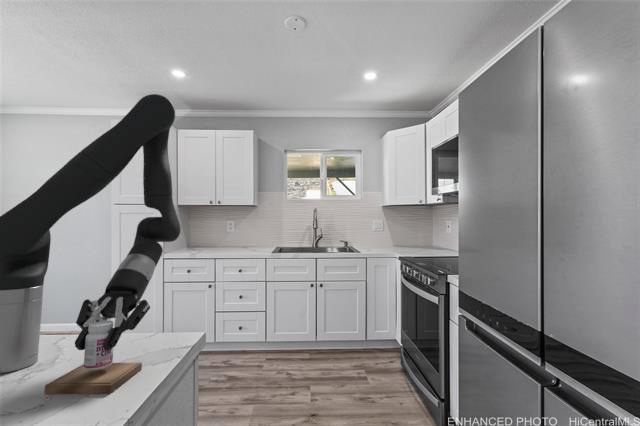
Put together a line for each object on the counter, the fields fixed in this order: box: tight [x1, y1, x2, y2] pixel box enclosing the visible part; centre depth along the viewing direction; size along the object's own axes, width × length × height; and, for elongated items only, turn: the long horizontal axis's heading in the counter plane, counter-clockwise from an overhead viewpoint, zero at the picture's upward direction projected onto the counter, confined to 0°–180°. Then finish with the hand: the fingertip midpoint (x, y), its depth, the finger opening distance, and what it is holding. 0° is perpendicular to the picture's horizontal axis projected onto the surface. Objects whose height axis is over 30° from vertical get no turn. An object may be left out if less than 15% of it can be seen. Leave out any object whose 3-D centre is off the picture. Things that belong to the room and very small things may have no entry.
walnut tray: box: [43, 362, 143, 395], centre depth 61 cm, size 12×10×2 cm
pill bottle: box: [83, 320, 114, 370], centre depth 61 cm, size 5×5×8 cm
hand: (93, 348), depth 60 cm, fingers closed on pill bottle, 4 cm apart
